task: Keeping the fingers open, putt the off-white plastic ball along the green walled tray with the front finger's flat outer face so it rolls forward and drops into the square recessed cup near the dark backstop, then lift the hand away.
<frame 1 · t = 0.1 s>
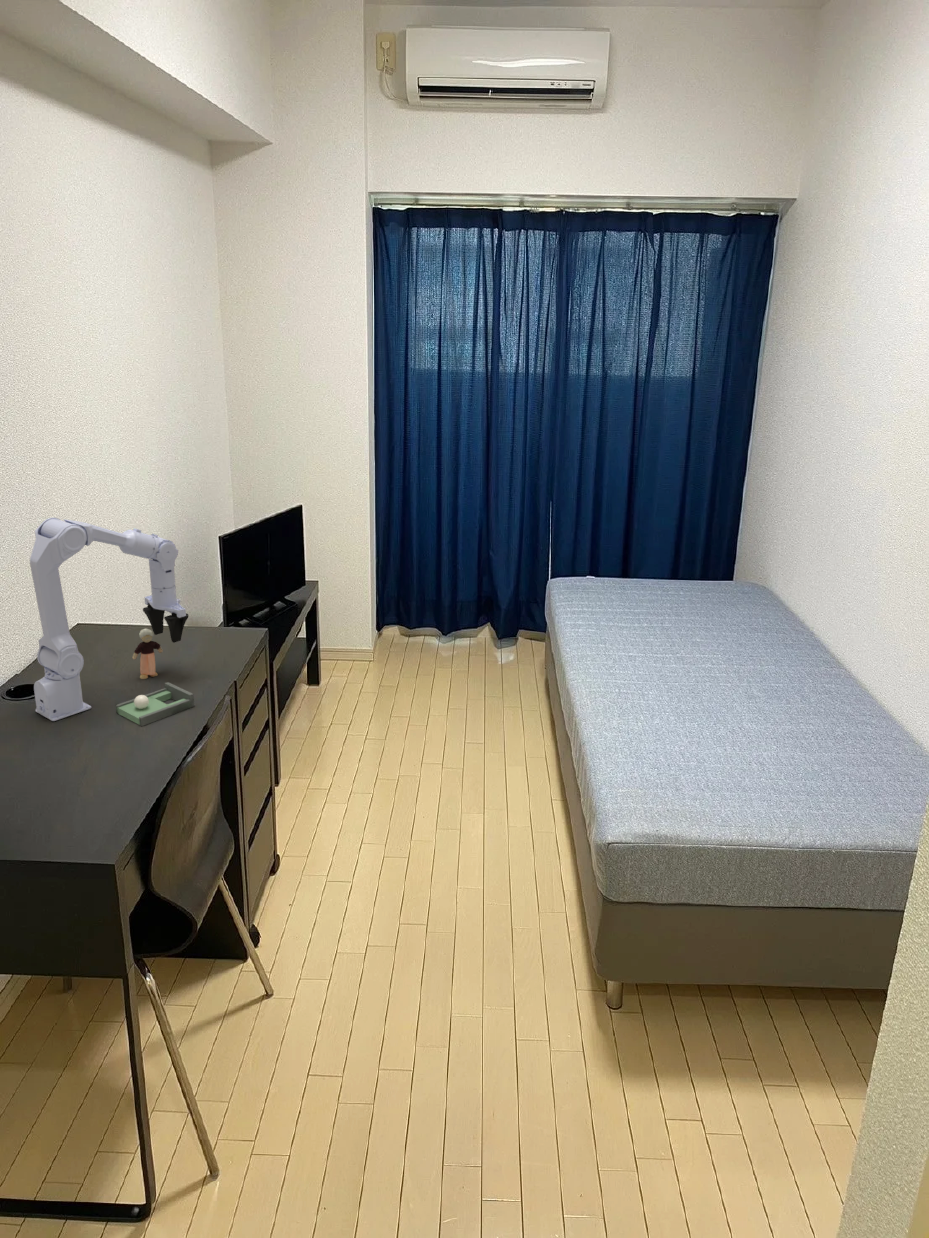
hand: (167, 637, 227), 10 cm above the table, fingers open, 7 cm apart
ball: (141, 701, 207), point 3 cm above the table, touching green walled tray
green walled tray: (155, 709, 211), on the table
grandmother figurine: (150, 676, 229), on the table
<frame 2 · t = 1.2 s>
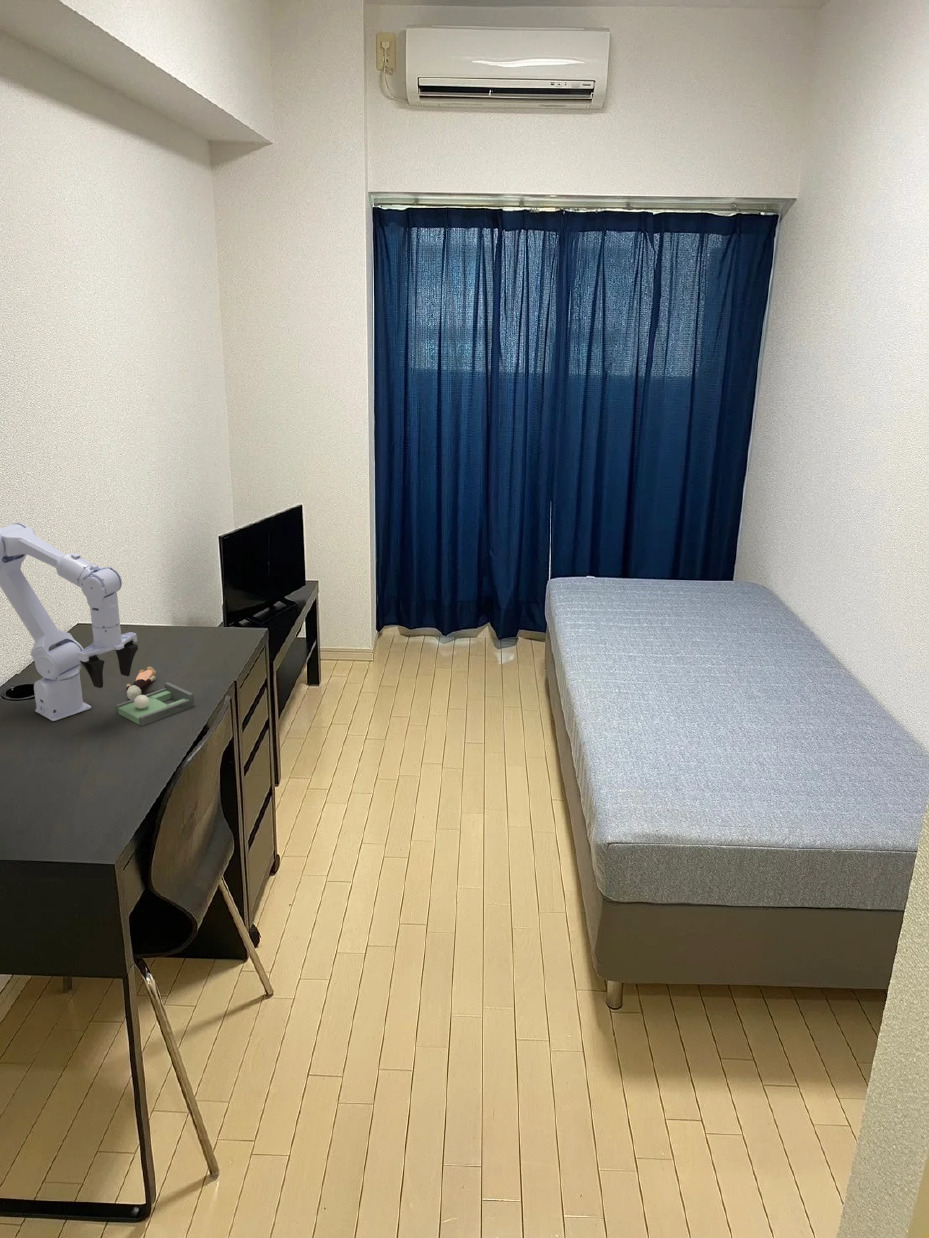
hand: (112, 680, 202), 10 cm above the table, fingers open, 7 cm apart
grandmother figurine: (149, 672, 226), point 2 cm above the table
everything else where it was.
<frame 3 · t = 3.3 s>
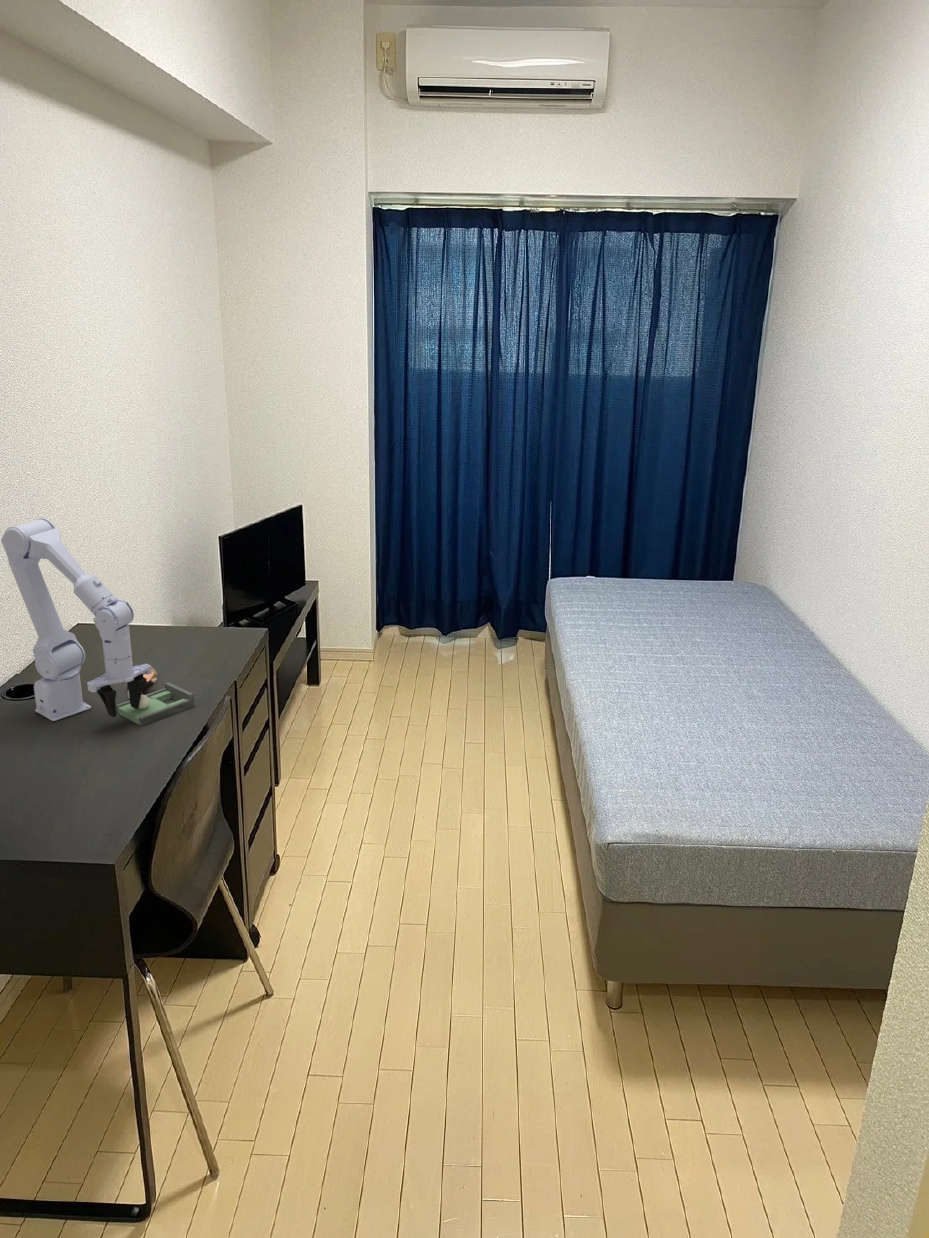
hand: (123, 711, 204), 2 cm above the table, fingers open, 5 cm apart
ball: (142, 701, 207), point 3 cm above the table, tilted 6°, touching gripper, green walled tray
everything else where it was.
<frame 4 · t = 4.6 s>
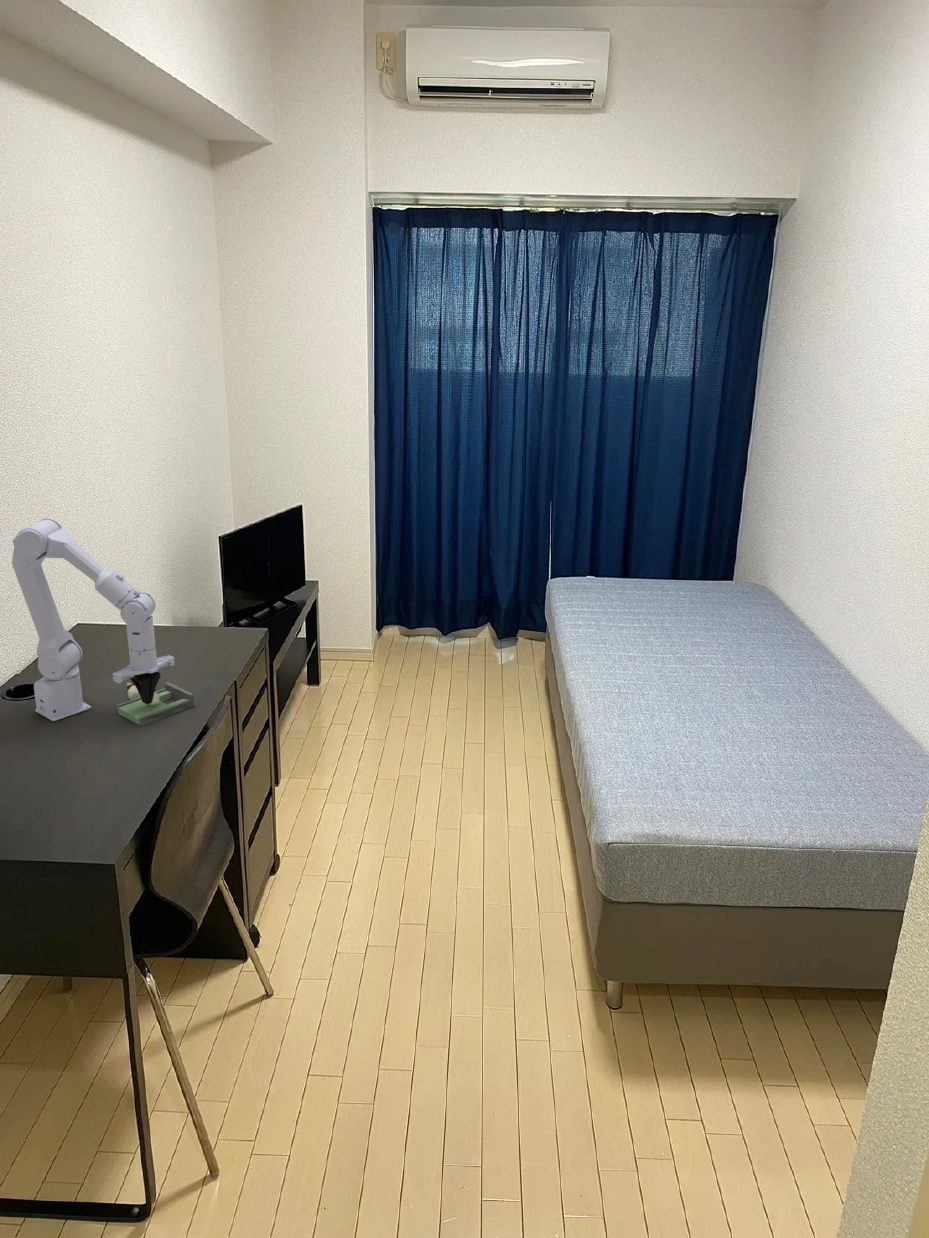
hand: (147, 702, 208), 3 cm above the table, fingers closed, pressing on ball
ball: (152, 698, 209), point 3 cm above the table, tilted 99°, touching gripper, green walled tray
everything else where it was.
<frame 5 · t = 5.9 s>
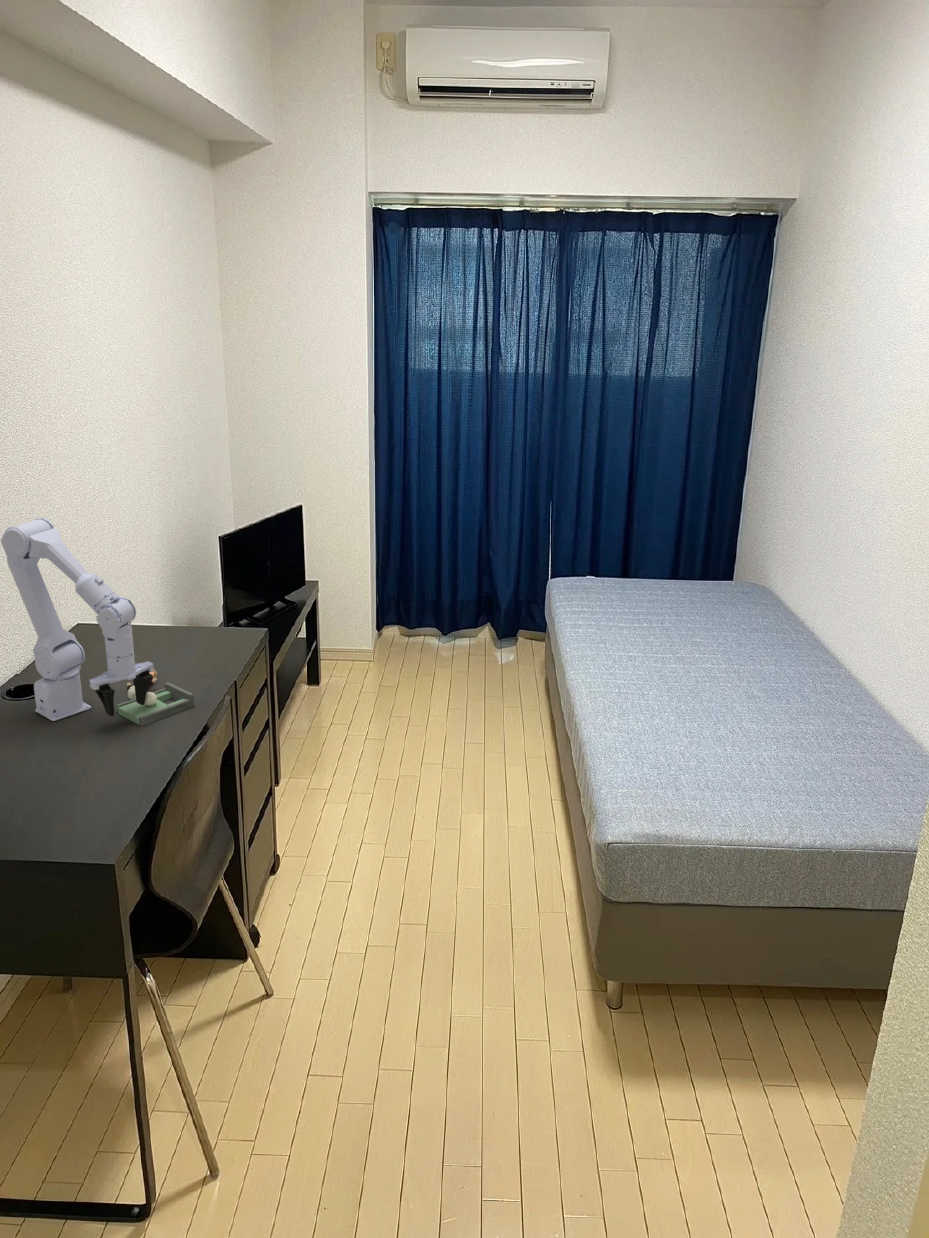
hand: (125, 708, 204), 3 cm above the table, fingers open, 7 cm apart
ball: (149, 698, 209), point 3 cm above the table, tilted 78°, touching green walled tray
everything else where it was.
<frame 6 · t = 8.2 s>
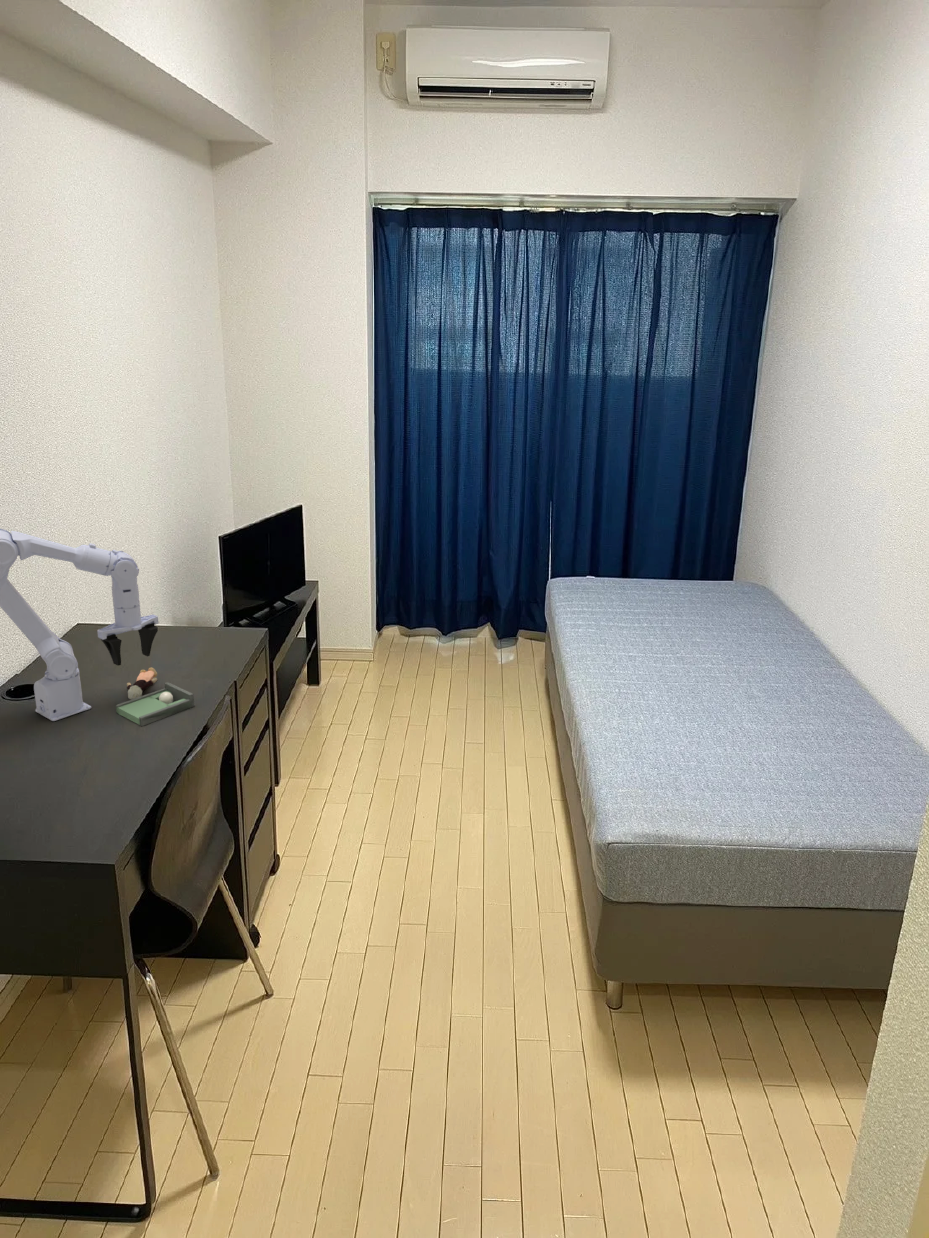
hand: (131, 659, 213), 10 cm above the table, fingers open, 7 cm apart
ball: (166, 698, 213), point 2 cm above the table, tilted 98°
everything else where it was.
at the end: ball 0.7 cm from the target spot on the green walled tray, point 1.6 cm above the green walled tray's base; the gripper is holding nothing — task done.
